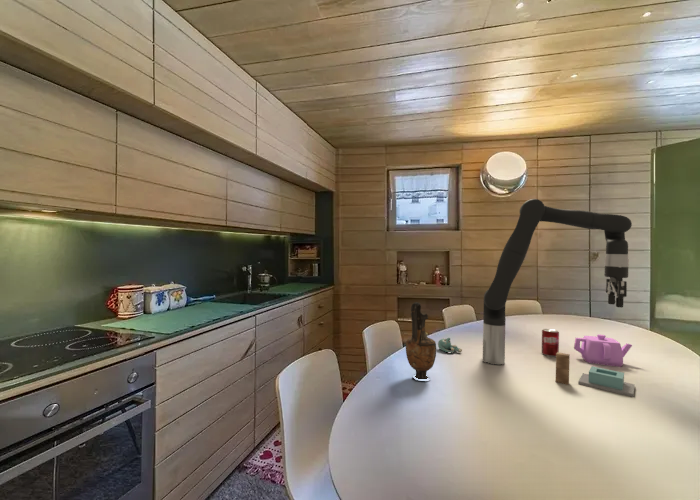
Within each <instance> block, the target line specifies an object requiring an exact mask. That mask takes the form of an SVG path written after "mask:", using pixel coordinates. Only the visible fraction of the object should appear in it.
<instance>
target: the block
mask: <svg viewBox="0 0 700 500" xmlns="http://www.w3.org/2000/svg"><path fill="white" fill-rule="evenodd" d="M570 357H571V356H570V354H569V353H565V352H564V353H563V352H560V351H559V352H557V353H556V357H555V383H558V384H563V385H565V386H568V385H570Z"/></svg>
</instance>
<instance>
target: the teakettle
mask: <svg viewBox="0 0 700 500" xmlns="http://www.w3.org/2000/svg"><path fill="white" fill-rule="evenodd" d="M632 347H633V345H632V344H630V343H626V344H624V345H623V346H622V345H621V343H620V342H619V341H618V340H616V339H615V338H612V337H607V336H606V335H605V334H600V333H599V334H598V333H597V334H596V336H594V335H583V337H575V340H574V346H573V349H574V350H575V351H577V352H578V353H580V354H581V357H582V358H583V360H584V361H586V363H589V364H595V365H601V366H602V365H603V366H609V367H620V368H621V367H623V364H624V357H625V356H626V355H627V353H628V352H629V351H630V350H631V348H632Z"/></svg>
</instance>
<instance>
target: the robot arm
mask: <svg viewBox="0 0 700 500" xmlns="http://www.w3.org/2000/svg"><path fill="white" fill-rule="evenodd" d="M540 222H544V223H545V222H546V223H555V224H559V225H560V224H561V225H565V226H571V227H577V228H581V229H587V230H599V231H600V230H601V231H603V232H604V239H605V243H606V244H605V258H604V277H606V279H605V280H606V284H605V293H607V304H609V305H613V306H614V305H615V307H617V308H624V299H625V298H626V297H627V296H628V295H627V294H628V293H627V292H628V291H627V290H628V288H627V287H628V283H627V281H626V280H625V281H624V280H623V279H627V278H629V267H630V266H629V265H630V264H629V259H630V258H629V243H628V241H627V240H626V236H625V235H626V234H625V233H627V232H628V231H630V230H631V229H632V226H633V224H632V221H631V219H630V218H629V217H627V216H625V215H622V214H621V215H619V214H612V213H611V214H610V213H599V212H593V211H588V210H583V209H582V210H581V209H571V208H570V209H566V208H565V209H563V208H555V207H551V206H547V205H545V204H544V203H543V201H542V200H540V199H538V198H531V199H528V200H526V201H524V203H523V204H522V205H521V206H520V209H519V216H518V220H517V223H516V226H515V228H514V230H513V232H512V233H511V234H510V237H509V238H508V239H507V241H506V243H505V245H504V248H503V250H502V252H501V254H500V257H499V260H498V263H497V267H496V270H495V271H496V272H495V276H494V277H493V280H492V283H490V286H489V288H488V289H487V290H486V291H485V292H484V295H483V313H482V315H483V316H482V317H483V321H482V323H483V325H482V326H483V327H482V328H483V329H482V330H483V332H482V333H483V334H482V362H483V361H485V362H484V363H486V362H488V363H487V364H489V363H491V364H490V365H494V364H502V365H504V364H505V363H506V361H505V360H506V356H505V355H506V303H507V299H508V296H509V293H510V289H511V286H512V283H514V280H515V278H516V276H517V274H518V273H519V271H520V269H521V267H522V265H523V263H524V261H525V258H526V256H527V253H528V251H529V249H530V248H529V247H530V245H531V241H532V238H533V235H534V232H535V231H536V228H537V227H538V224H540Z"/></svg>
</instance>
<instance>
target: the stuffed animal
mask: <svg viewBox="0 0 700 500" xmlns="http://www.w3.org/2000/svg"><path fill="white" fill-rule="evenodd" d="M437 342H438V343H437V346H438V349H439V350H441V351H442V352H444V351H445V352H454V353H455V352H457V353H462V352H463V349H462V348H461V347H460V348H459V347H458V345H456V344H452V343H451V338H450V337H448V338H444V337H443V338H441V339H439V340H438V341H437ZM449 349H451V350H452V351H451V350H449ZM445 352H444V353H445Z"/></svg>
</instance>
